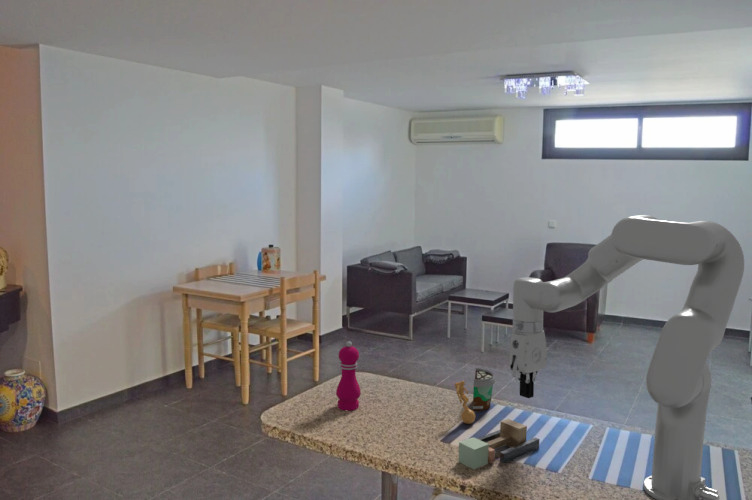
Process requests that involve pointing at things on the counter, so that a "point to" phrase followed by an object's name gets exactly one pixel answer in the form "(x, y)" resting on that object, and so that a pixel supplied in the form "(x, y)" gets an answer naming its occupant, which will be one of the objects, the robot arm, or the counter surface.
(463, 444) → the block
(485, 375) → the food container
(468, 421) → the figurine
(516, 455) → the dark grey rails
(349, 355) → the pepper mill
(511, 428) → the tan pedestal
